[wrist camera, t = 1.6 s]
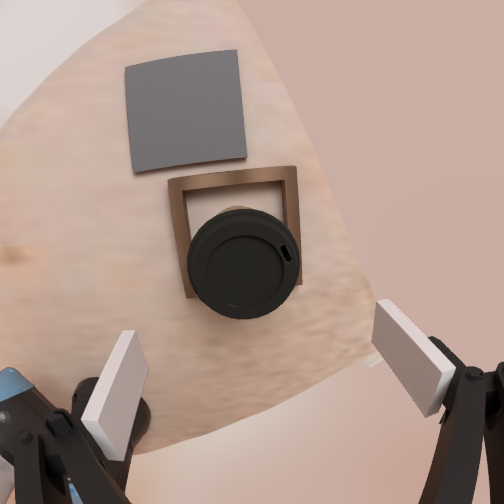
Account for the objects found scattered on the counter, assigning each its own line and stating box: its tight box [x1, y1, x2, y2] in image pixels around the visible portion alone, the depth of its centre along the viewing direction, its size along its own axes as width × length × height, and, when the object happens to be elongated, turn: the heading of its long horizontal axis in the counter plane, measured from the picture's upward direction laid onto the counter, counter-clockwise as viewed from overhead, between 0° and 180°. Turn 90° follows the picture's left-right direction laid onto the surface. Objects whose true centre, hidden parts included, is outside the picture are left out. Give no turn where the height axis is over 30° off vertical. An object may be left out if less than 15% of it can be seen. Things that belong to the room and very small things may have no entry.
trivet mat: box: [125, 50, 247, 173], centre depth 33 cm, size 14×14×1 cm
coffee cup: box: [187, 206, 300, 319], centre depth 31 cm, size 10×10×15 cm
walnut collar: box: [168, 166, 302, 298], centre depth 37 cm, size 15×15×2 cm
